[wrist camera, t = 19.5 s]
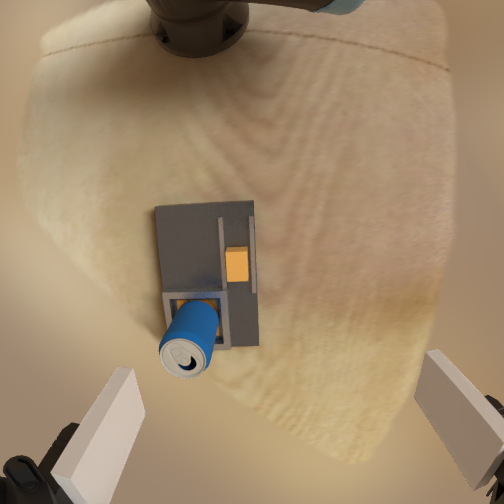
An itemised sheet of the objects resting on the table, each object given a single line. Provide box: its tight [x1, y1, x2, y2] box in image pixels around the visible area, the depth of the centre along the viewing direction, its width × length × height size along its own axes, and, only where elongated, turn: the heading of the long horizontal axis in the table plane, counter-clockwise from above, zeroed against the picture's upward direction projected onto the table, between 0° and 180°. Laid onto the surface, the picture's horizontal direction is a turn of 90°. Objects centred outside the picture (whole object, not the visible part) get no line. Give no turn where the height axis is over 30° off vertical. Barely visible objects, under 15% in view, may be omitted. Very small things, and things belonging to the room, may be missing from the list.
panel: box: [155, 200, 259, 350], centre depth 46 cm, size 22×14×4 cm, turn 2°
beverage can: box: [159, 300, 219, 379], centre depth 41 cm, size 6×6×12 cm
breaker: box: [225, 247, 249, 282], centre depth 43 cm, size 4×3×3 cm
